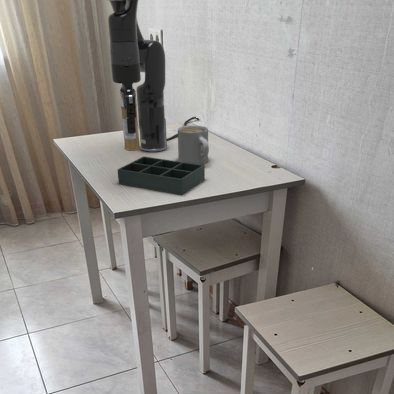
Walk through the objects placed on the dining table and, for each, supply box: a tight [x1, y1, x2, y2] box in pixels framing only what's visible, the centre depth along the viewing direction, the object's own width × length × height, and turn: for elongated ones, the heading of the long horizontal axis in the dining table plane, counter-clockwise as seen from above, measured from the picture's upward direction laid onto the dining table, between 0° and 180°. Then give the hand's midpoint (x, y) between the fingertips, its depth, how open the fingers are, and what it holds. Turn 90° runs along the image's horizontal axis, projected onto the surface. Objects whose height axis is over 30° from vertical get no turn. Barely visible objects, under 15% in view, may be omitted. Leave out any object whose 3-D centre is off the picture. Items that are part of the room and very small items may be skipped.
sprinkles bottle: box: [119, 97, 141, 152], centre depth 135 cm, size 5×5×13 cm
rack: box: [116, 156, 206, 196], centre depth 143 cm, size 15×22×4 cm
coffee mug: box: [177, 124, 210, 165], centre depth 157 cm, size 13×10×10 cm
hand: (130, 130), depth 136 cm, fingers closed on sprinkles bottle, 4 cm apart
